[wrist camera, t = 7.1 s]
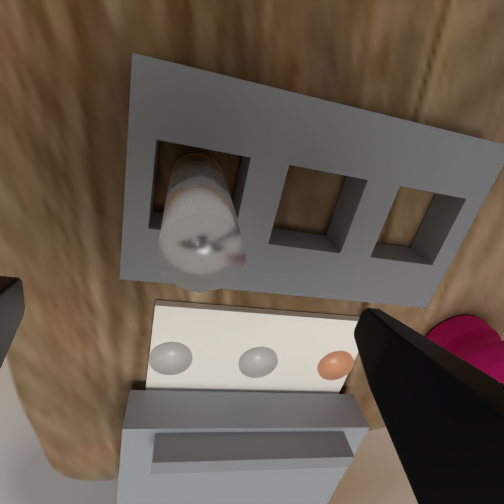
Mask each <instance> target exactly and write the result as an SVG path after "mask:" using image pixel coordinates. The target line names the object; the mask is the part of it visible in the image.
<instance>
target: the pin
mask: <svg viewBox="0 0 504 504" xmlns="http://www.w3.org/2000/svg"><path fill="white" fill-rule="evenodd" d="M246 256H247V249H246V243H245V240H244V237H243V234H242V231H241V228H240V224H239V221H238V218H237V215H236V212H235V209H234V206H233V203H232V200H231V197H230V193H229V190H228V187H227V184H226V181H225V178H224V175H223V172H222V169H221V167H220V165H219V164H218V163H217V162H216V161H215V160H214V159H213V158H212V157H210V156H208V155H206V154H202V153H190V154H187V155H184V156H183V157H181V158H180V159H178V160H177V161H176V163H175V164H174V166H173V168H172V170H171V174H170V180H169V185H168V191H167V196H166V202H165V208H164V213H163V219H162V225H161V230H160V236H159V242H158V247H157V260H158V264H159V267H160V269H161V271H162V272H163V274H164V275H165V276H166V278H167V279H168V280H169V281H171V282H172V283H173V284H175V285H176V286H178V287H180V288H182V289H185V290H189V291H194V292H208V291H214V290H217V289H220V288H222V287H224V286H226V285H228V284H229V283H230V282H232V281H233V280H234V279H235V278H236V277H237V276H238V275H239V274H240V272H241V270H242V269H243V267H244V264H245V261H246Z"/></svg>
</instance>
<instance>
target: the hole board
mask: <svg viewBox="0 0 504 504" xmlns="http://www.w3.org/2000/svg"><path fill="white" fill-rule="evenodd" d="M159 140H161V141H167V142H172V143H177V144H182V145H187V146H193V147H198V148H203V149H208V150H214V151H219V152H224V153H229V154H235V155H240V156H242V159H241V164H240V169H239V174H238V179H237V184H236V189H235V194H234V199H233V206H234V209H235V212H236V215H237V218H238V221H239V224H240V228H241V231H242V234H243V237H244V240H245V243H246V249H247V256H246V261H245V264H244V267H243V269H242V270H241V272H240V274H239V275H238V276H237V277H236V278H235V279H234V280H233V281H232V282H230V283H229V284H228V285H226V286H224V287H222V288H220V289H231V290H241V291H252V292H263V293H273V294H284V295H295V296H305V297H316V298H327V299H337V300H348V301H359V302H369V303H380V304H391V305H401V306H412V307H423V308H427V306H428V304H429V302H430V300H431V299H432V297H433V295H434V293H435V291H436V289H437V287H438V286H439V284H440V282H441V280H442V278H443V276H444V275H445V273H446V271H447V269H448V267H449V265H450V263H451V262H452V260H453V258H454V256H455V254H456V252H457V251H458V249H459V247H460V245H461V243H462V241H463V239H464V238H465V236H466V234H467V232H468V230H469V228H470V226H471V225H472V223H473V221H474V219H475V217H476V215H477V214H478V212H479V210H480V208H481V206H482V204H483V202H484V201H485V199H486V197H487V195H488V193H489V191H490V190H491V188H492V186H493V184H494V182H495V180H496V178H497V177H498V175H499V173H500V171H501V169H502V167H503V166H504V144H501V143H497V142H493V141H489V140H485V139H481V138H477V137H473V136H469V135H465V134H461V133H456V132H452V131H448V130H444V129H440V128H436V127H432V126H428V125H424V124H420V123H416V122H412V121H408V120H404V119H400V118H396V117H392V116H388V115H384V114H379V113H375V112H371V111H367V110H363V109H359V108H355V107H351V106H347V105H343V104H339V103H335V102H331V101H327V100H323V99H319V98H315V97H311V96H306V95H302V94H298V93H294V92H290V91H286V90H282V89H278V88H274V87H270V86H266V85H262V84H258V83H254V82H250V81H246V80H242V79H238V78H234V77H229V76H225V75H221V74H217V73H213V72H209V71H205V70H201V69H197V68H193V67H189V66H185V65H181V64H177V63H173V62H169V61H165V60H161V59H157V58H152V57H148V56H144V55H140V54H136V53H132V67H131V85H130V103H129V121H128V138H127V156H126V174H125V191H124V209H123V227H122V245H121V262H120V279H124V280H134V281H145V282H156V283H166V284H173V283H172V282H171V281H169V280H168V279H167V278H166V276H165V275H164V274H163V272H162V271H161V269H160V267H159V264H158V260H157V247H158V242H159V236H160V230H161V225H162V219H163V213H164V212H157V211H153V203H154V192H155V182H156V171H157V161H158V151H159ZM289 165H292V166H297V167H302V168H308V169H313V170H318V171H323V172H329V173H334V174H339V175H344V176H346V178H345V181H344V184H343V187H342V190H341V193H340V196H339V199H338V202H337V204H336V207H335V210H334V213H333V216H332V219H331V222H330V225H329V228H328V231H327V234H326V235H319V234H312V233H305V232H298V231H291V230H284V229H277V228H273V224H274V220H275V217H276V213H277V209H278V205H279V202H280V198H281V194H282V190H283V187H284V183H285V179H286V175H287V172H288V168H289ZM400 186H402V187H407V188H412V189H417V190H423V191H428V192H433V193H436V194H435V196H434V198H433V200H432V202H431V204H430V206H429V209H428V211H427V213H426V215H425V217H424V219H423V221H422V223H421V226H420V228H419V230H418V232H417V234H416V236H415V238H414V240H413V243H412V245H411V247H403V246H396V245H389V244H382V243H376V242H377V240H378V237H379V235H380V233H381V230H382V228H383V226H384V223H385V221H386V218H387V216H388V214H389V211H390V209H391V206H392V204H393V202H394V199H395V197H396V195H397V192H398V190H399V187H400Z"/></svg>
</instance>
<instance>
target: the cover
mask: <svg viewBox="0 0 504 504" xmlns="http://www.w3.org/2000/svg"><path fill="white" fill-rule="evenodd" d="M369 428H370V427H369V425H368V423H367V421H366V419H365V417H364V415H363V413H362V411H361V409H360V407H359V405H358V403H357V401H356V400H355V398H354V396H353V394H311V393H260V392H210V391H160V390H130V391H129V396H128V402H127V407H126V412H125V418H124V423H123V429H122V441H121V454H120V466H119V479H118V492H117V504H327V503H328V501H329V499H330V498H331V496H332V494H333V492H334V490H335V489H336V487H337V485H338V483H339V481H340V479H341V478H342V476H343V474H344V472H345V471H346V469H347V467H349V466H350V464H351V462H352V460H353V458H354V455H355V453H356V451H357V449H358V447H359V445H360V444H361V442H362V440H363V438H364V437H365V435H366V433H367V431H368V429H369Z"/></svg>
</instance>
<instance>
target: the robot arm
mask: <svg viewBox="0 0 504 504" xmlns="http://www.w3.org/2000/svg"><path fill="white" fill-rule="evenodd" d="M24 309H25V305H24V295H23V285H22V281H21V279H20V278H17V277H7V276H0V368H1V366H2V363H3V361H4V359H5V357H6V354H7V352H8V350H9V347H10V345H11V343H12V340H13V338H14V336H15V333H16V331H17V329H18V327H19V324H20V322H21V320H22V317H23V314H24ZM354 339H355V342H356V345H357V349H358V352H359V355H360V358H361V362H362V365H363V368H364V372H365V375H366V378H367V381H368V384H369V387H370V389H371V392H372V394H373V396H374V399H375V401H376V404H377V406H378V408H379V411H380V413H381V416H382V418H383V420H384V423H385V425H386V428H387V430H388V432H389V435H390V437H391V439H392V442H393V444H394V447H395V449H396V451H397V454H398V456H399V459H400V461H401V464H402V466H403V468H404V471H405V473H406V475H407V478H408V480H409V483H410V485H411V488H412V490H413V492H414V495H415V497H416V500H417V502H418V504H504V384H503V383H499V382H498V380H496V379H494V378H493V377H491V376H489V375H488V374H486V373H484V372H483V371H481V370H479V369H478V368H476V367H474V366H473V365H471V364H469V363H468V362H466V361H464V360H463V359H461V358H459V357H458V356H456V355H454V354H453V353H451V352H449V351H448V350H446V349H445V348H443V347H441V346H440V345H438V344H436V343H435V342H433V341H431V340H430V339H428V338H426V337H425V336H423V335H421V334H420V333H418V332H416V331H415V330H413V329H411V328H410V327H408V326H406V325H405V324H403V323H401V322H400V321H398V320H396V319H395V318H393V317H391V316H390V315H388V314H386V313H385V312H383V311H381V310H380V309H375V308H365V309H364V310H363V311H362V313H361V316H360V318H359V320H358V322H357V325H356V327H355V329H354Z"/></svg>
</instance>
